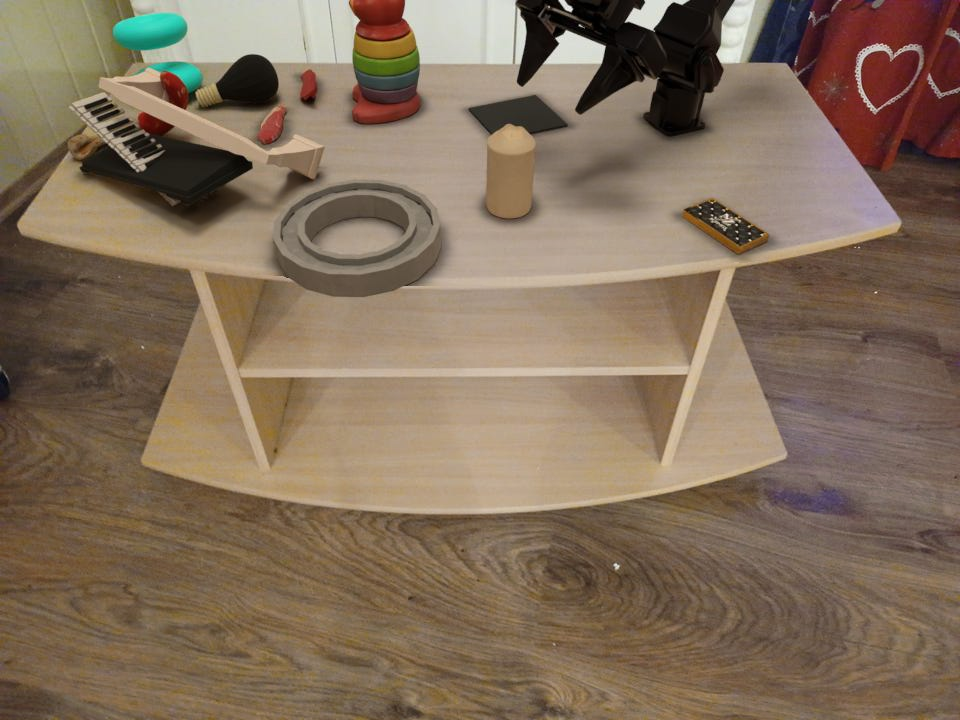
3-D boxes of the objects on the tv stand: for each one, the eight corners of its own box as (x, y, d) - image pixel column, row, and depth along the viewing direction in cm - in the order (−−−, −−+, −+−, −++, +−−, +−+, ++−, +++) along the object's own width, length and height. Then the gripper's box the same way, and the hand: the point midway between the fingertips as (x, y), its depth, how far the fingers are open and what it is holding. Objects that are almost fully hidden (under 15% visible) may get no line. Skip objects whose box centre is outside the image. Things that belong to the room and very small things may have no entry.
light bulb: (180, 71, 101) (262, 43, 101) (194, 80, 108) (271, 53, 108) (200, 119, 103) (280, 91, 103) (213, 125, 109) (288, 98, 109)
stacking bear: (352, 90, 110) (337, -38, 98) (419, 88, 111) (413, -40, 99) (352, 125, 103) (336, -10, 90) (424, 122, 104) (418, -12, 91)
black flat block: (683, 208, 87) (713, 196, 89) (681, 216, 88) (710, 204, 90) (740, 246, 82) (770, 233, 83) (737, 254, 82) (767, 241, 84)
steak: (274, 139, 98) (252, 140, 98) (275, 143, 99) (254, 144, 99) (290, 104, 105) (270, 105, 105) (291, 108, 105) (271, 109, 105)
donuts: (192, 78, 114) (127, 93, 109) (171, 8, 108) (101, 21, 103) (214, 89, 107) (146, 106, 102) (193, 15, 101) (119, 30, 97)
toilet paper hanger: (83, 95, 86) (90, 59, 85) (143, 100, 96) (150, 68, 94) (272, 182, 83) (282, 146, 82) (315, 179, 93) (324, 146, 91)
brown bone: (159, 89, 104) (176, 98, 104) (161, 106, 106) (177, 114, 106) (62, 138, 93) (80, 148, 93) (66, 156, 95) (84, 166, 95)
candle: (491, 221, 86) (493, 144, 79) (482, 196, 90) (483, 120, 83) (536, 216, 87) (542, 139, 80) (525, 191, 91) (530, 116, 84)
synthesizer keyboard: (187, 198, 80) (203, 259, 88) (252, 155, 85) (262, 216, 93) (54, 109, 85) (81, 174, 93) (123, 73, 90) (143, 138, 98)
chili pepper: (306, 99, 104) (317, 108, 105) (325, 72, 104) (336, 82, 105) (288, 92, 114) (298, 100, 115) (306, 68, 113) (316, 76, 115)
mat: (535, 96, 110) (535, 94, 109) (567, 126, 103) (568, 124, 103) (468, 109, 106) (468, 107, 106) (497, 141, 100) (497, 139, 100)
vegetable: (120, 115, 98) (160, 61, 90) (159, 124, 102) (200, 73, 95) (126, 144, 97) (167, 92, 90) (165, 152, 101) (207, 103, 94)
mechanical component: (473, 252, 82) (473, 230, 80) (330, 320, 74) (326, 298, 72) (383, 184, 92) (381, 163, 90) (249, 238, 84) (243, 216, 81)
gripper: (532, -96, 78) (455, 35, 81) (672, -55, 69) (580, 92, 71) (574, -32, 88) (504, 84, 90) (702, 12, 78) (620, 140, 81)
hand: (547, 98), depth 83 cm, fingers open, 9 cm apart
